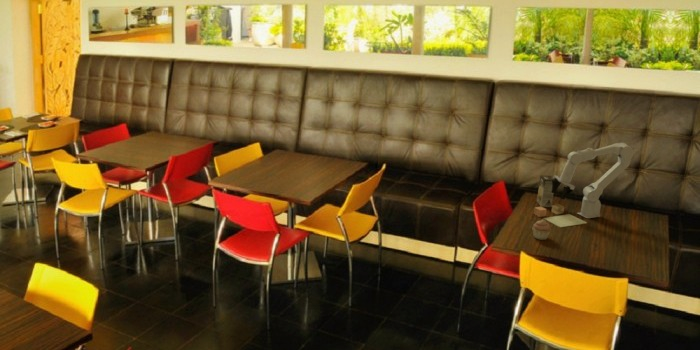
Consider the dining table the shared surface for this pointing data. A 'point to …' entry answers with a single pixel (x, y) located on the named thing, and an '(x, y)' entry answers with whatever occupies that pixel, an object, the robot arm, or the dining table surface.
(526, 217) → the dining table surface
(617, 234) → the dining table surface
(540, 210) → the terracotta block
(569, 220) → the pale green rectangular panel
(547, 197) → the coffee box
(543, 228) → the cupcake
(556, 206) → the birch block
